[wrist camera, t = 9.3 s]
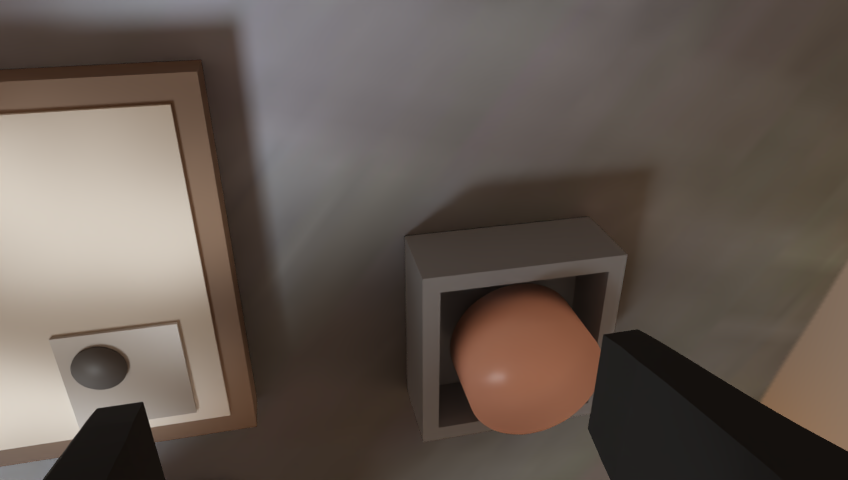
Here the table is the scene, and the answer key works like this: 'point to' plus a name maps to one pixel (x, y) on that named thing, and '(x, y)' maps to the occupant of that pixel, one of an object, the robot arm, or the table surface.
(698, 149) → the table surface
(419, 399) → the button housing
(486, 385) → the button
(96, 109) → the board
